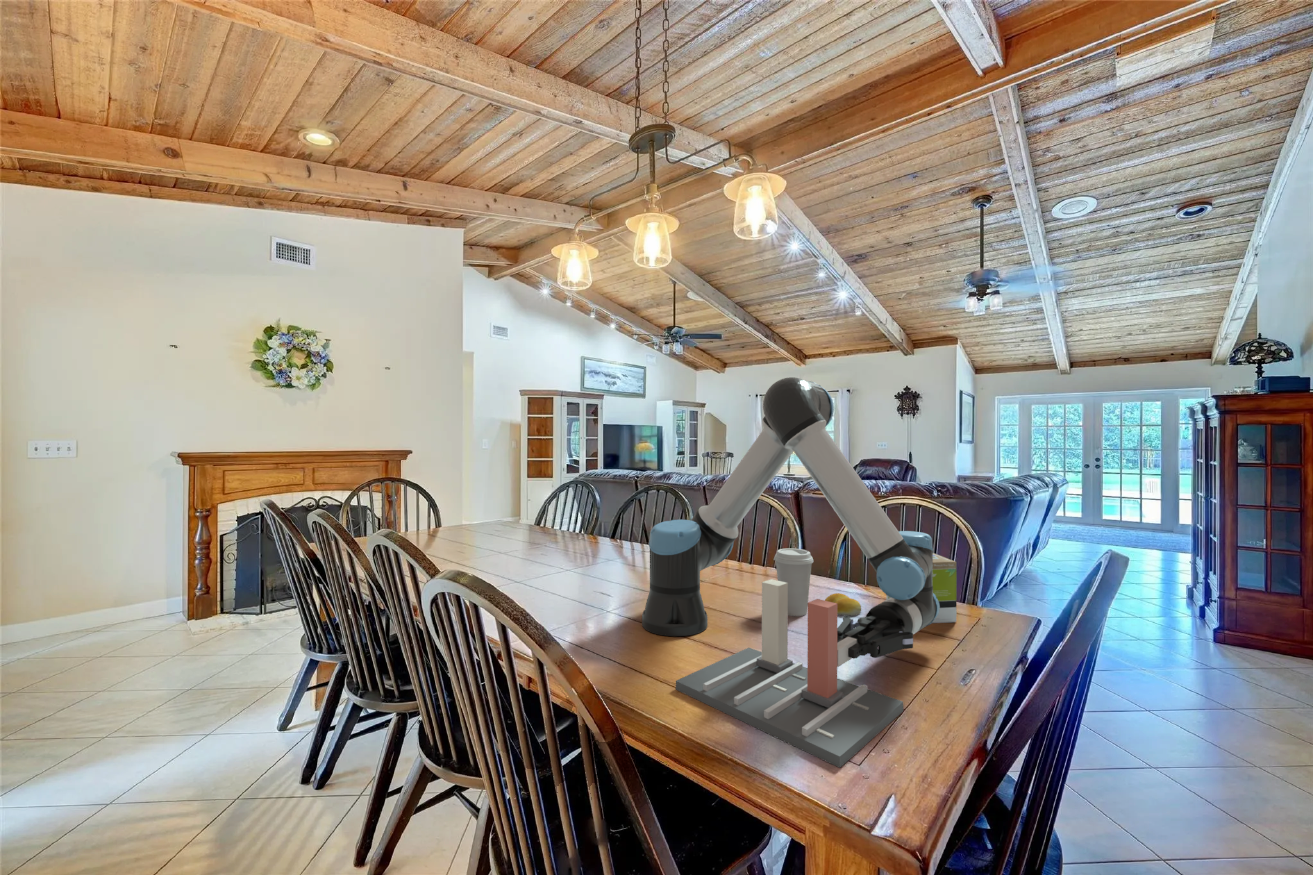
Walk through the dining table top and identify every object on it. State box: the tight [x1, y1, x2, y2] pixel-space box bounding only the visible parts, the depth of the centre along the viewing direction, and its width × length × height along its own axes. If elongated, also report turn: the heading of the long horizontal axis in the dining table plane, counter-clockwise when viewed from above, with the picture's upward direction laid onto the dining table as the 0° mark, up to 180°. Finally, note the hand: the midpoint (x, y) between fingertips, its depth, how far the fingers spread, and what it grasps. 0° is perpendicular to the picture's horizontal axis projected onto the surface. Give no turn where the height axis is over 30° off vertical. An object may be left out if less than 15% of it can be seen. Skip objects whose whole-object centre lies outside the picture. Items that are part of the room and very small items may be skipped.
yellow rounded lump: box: [824, 592, 862, 617], centre depth 134 cm, size 8×9×4 cm
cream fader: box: [757, 578, 794, 673], centre depth 97 cm, size 5×4×15 cm
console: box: [675, 647, 904, 769], centre depth 88 cm, size 30×21×2 cm
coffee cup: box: [773, 548, 814, 617], centre depth 132 cm, size 10×10×15 cm
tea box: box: [885, 552, 958, 624], centre depth 132 cm, size 15×10×15 cm, turn 5°
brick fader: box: [802, 598, 843, 708], centre depth 85 cm, size 5×4×15 cm
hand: (833, 656), depth 85 cm, fingers closed
